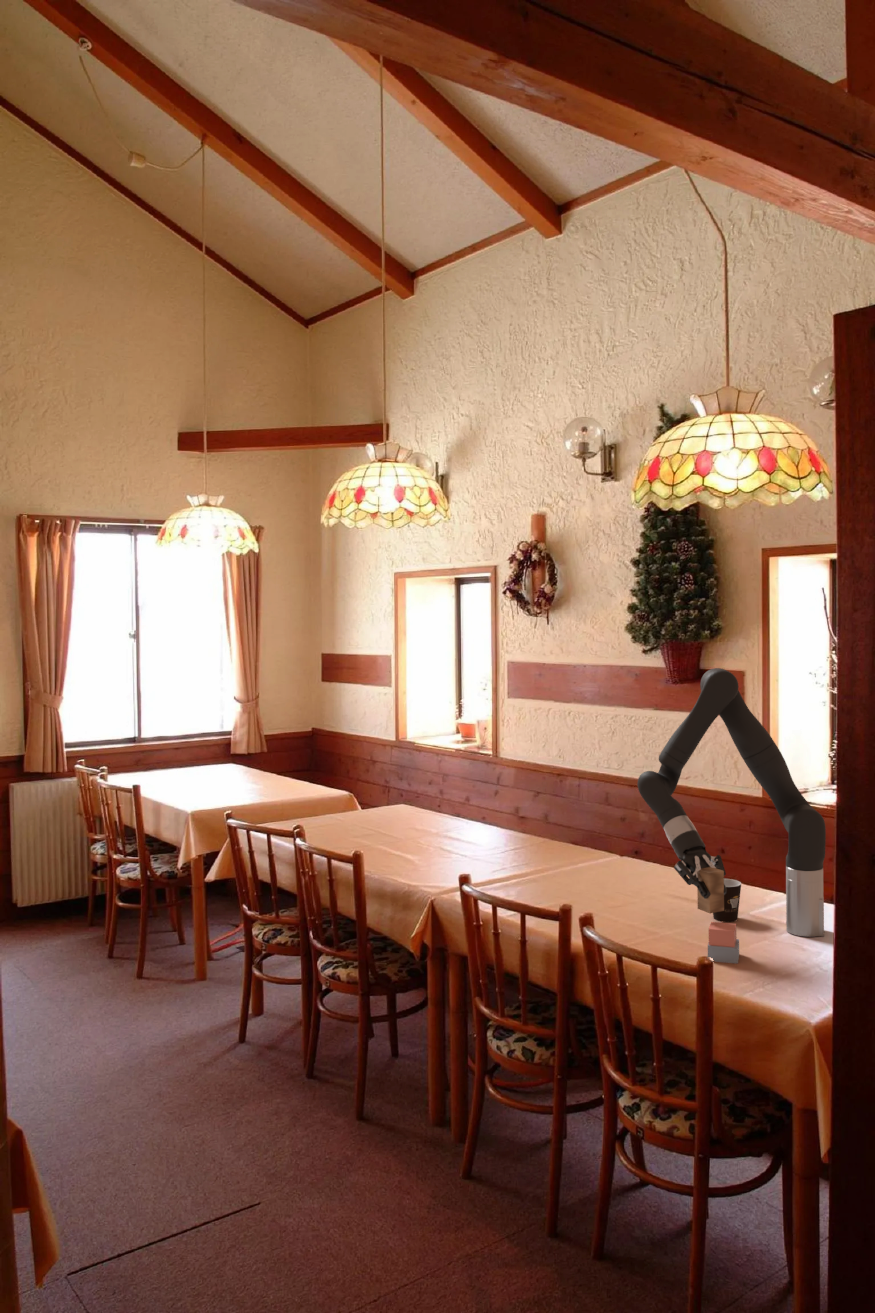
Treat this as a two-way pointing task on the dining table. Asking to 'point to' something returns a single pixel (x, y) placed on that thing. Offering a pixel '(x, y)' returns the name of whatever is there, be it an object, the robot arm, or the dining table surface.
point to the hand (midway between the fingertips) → (716, 895)
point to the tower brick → (722, 934)
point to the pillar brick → (712, 890)
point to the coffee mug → (730, 902)
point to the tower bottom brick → (724, 953)
